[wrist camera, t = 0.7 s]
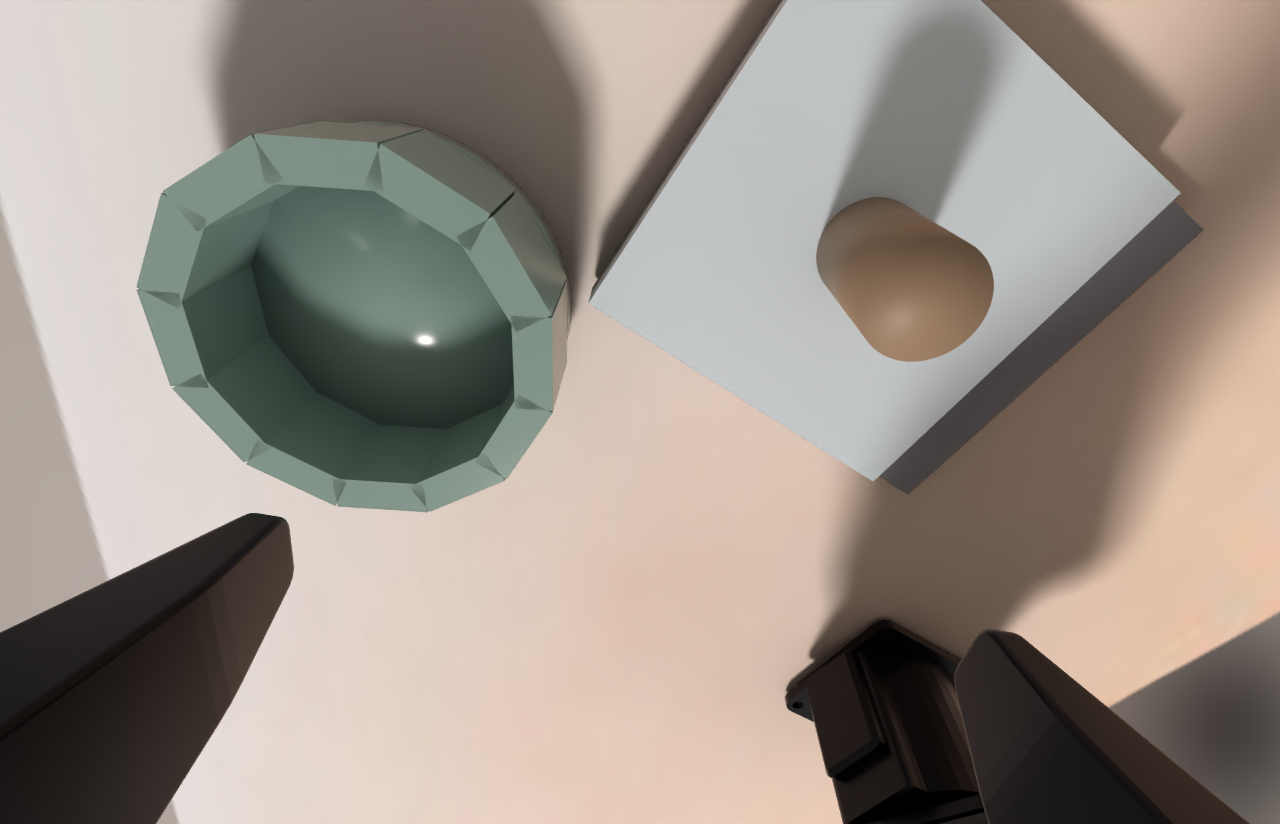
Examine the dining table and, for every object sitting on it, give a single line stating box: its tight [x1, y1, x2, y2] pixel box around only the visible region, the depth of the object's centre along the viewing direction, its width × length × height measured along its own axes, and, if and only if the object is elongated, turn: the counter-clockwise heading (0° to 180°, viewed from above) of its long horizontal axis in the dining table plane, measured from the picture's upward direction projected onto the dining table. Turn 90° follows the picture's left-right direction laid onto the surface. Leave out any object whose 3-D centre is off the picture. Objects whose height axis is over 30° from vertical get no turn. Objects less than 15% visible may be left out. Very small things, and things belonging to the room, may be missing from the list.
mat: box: [591, 0, 1203, 494], centre depth 18 cm, size 13×11×1 cm
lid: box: [589, 0, 1181, 481], centre depth 15 cm, size 11×11×5 cm
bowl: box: [137, 121, 571, 512], centre depth 17 cm, size 10×10×4 cm
